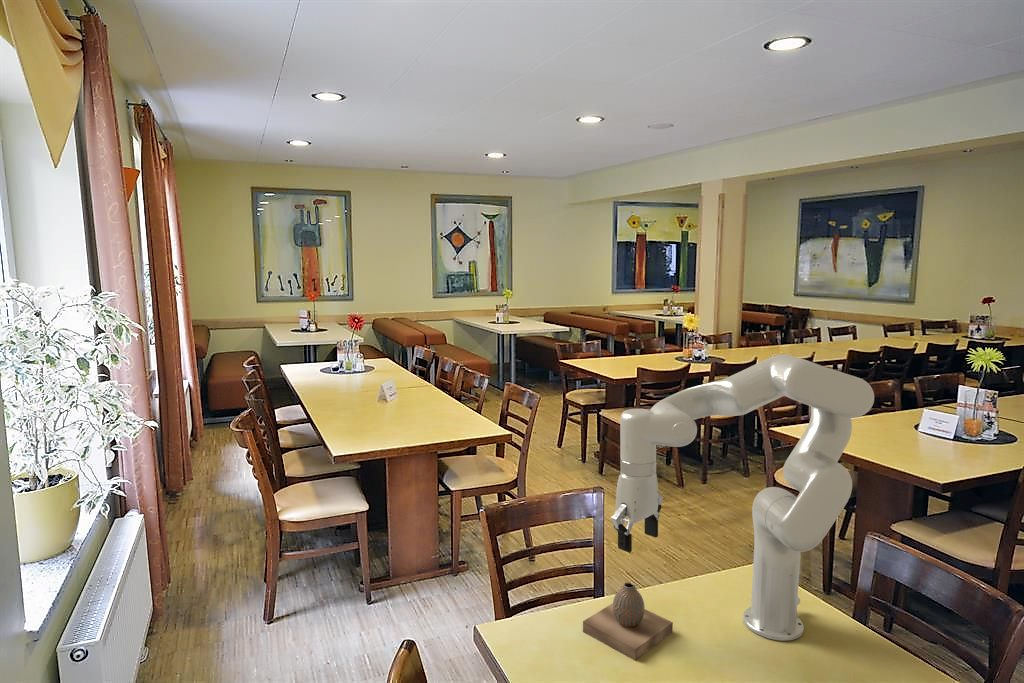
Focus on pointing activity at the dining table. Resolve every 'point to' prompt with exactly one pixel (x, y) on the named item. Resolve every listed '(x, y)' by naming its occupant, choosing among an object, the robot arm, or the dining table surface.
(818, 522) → the robot arm
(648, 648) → the plinth
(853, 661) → the dining table surface
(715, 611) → the dining table surface
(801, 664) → the dining table surface
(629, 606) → the vase
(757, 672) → the dining table surface
